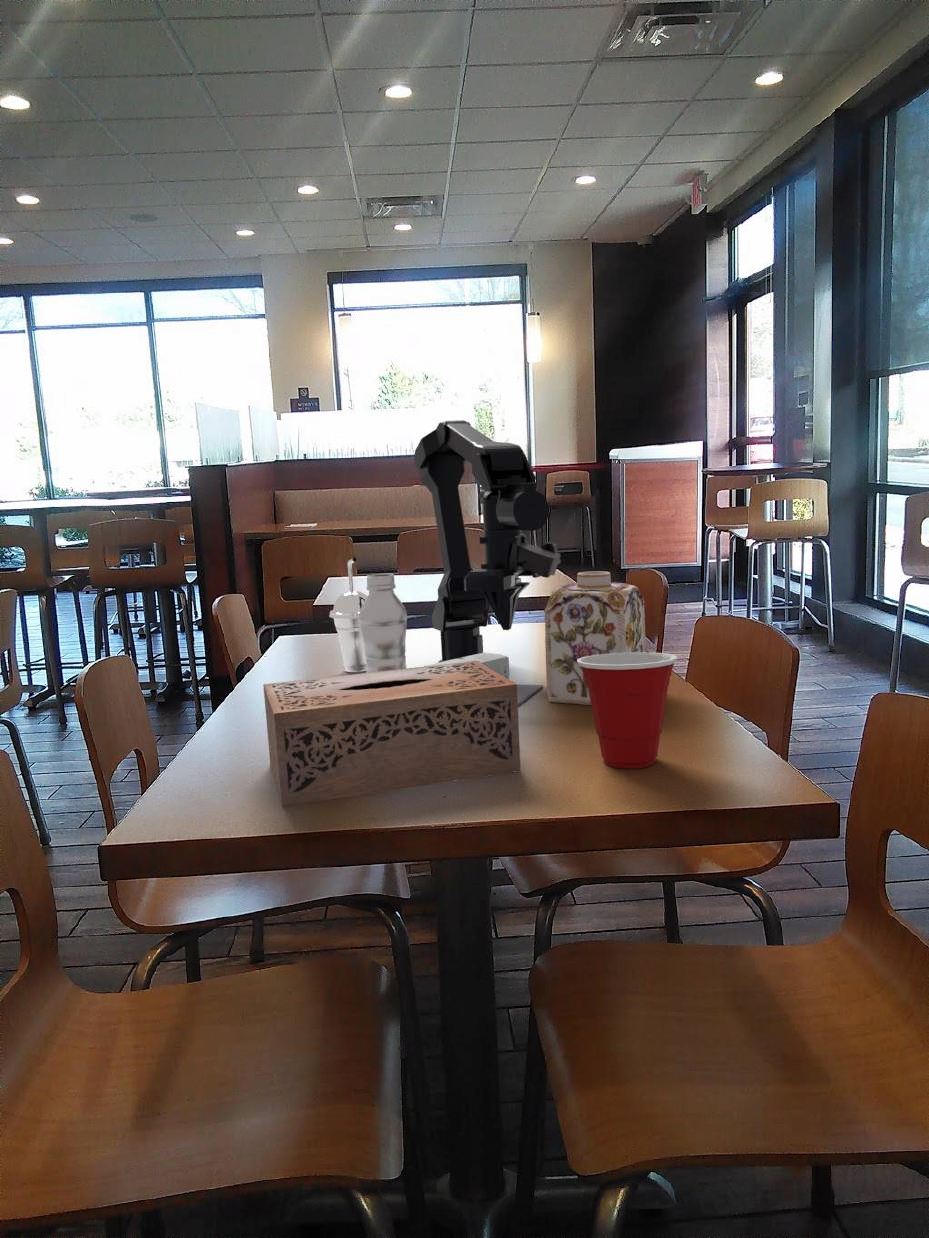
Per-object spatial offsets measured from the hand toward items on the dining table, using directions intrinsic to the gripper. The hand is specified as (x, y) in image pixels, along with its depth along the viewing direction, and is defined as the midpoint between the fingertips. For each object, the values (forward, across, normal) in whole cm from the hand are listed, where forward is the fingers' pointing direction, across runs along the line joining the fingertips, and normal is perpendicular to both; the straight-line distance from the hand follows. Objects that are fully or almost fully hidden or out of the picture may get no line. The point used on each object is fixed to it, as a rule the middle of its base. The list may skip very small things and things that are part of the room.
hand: (507, 629), depth 137 cm
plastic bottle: (+9, -25, +8) cm, 28 cm away
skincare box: (+6, +1, +2) cm, 7 cm away
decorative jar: (+9, -5, -16) cm, 19 cm away
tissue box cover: (+9, -42, -1) cm, 43 cm away
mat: (+8, -8, 0) cm, 12 cm away
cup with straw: (+9, +5, +30) cm, 32 cm away
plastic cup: (+9, -33, -26) cm, 43 cm away
